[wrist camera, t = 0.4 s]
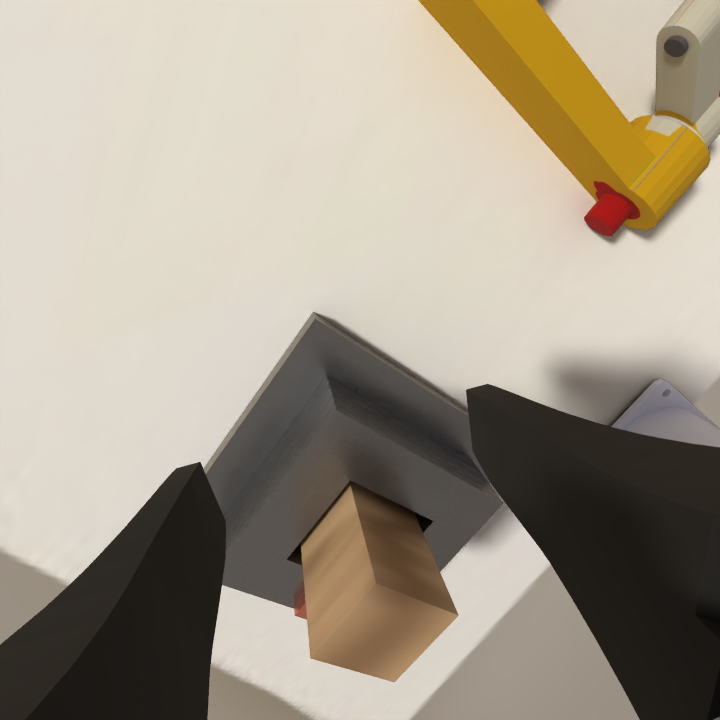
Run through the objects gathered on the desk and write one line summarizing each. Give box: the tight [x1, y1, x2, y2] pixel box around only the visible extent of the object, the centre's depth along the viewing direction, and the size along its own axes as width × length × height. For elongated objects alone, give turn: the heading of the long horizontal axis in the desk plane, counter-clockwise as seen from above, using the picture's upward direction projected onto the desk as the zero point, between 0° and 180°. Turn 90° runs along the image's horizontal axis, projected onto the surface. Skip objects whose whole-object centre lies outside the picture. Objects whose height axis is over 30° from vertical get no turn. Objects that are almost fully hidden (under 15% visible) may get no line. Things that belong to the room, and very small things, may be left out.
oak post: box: [301, 481, 458, 682], centre depth 20 cm, size 4×4×8 cm
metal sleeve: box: [204, 312, 503, 619], centre depth 22 cm, size 14×14×5 cm
